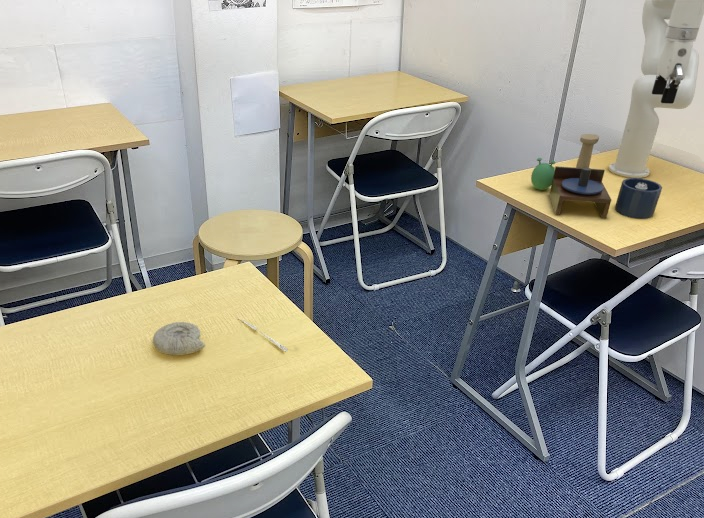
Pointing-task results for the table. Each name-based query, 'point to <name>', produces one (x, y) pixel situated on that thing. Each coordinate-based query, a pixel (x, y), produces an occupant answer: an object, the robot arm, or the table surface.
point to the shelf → (561, 193)
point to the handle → (586, 149)
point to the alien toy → (543, 175)
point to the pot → (637, 198)
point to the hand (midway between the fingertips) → (662, 98)
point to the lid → (582, 183)
